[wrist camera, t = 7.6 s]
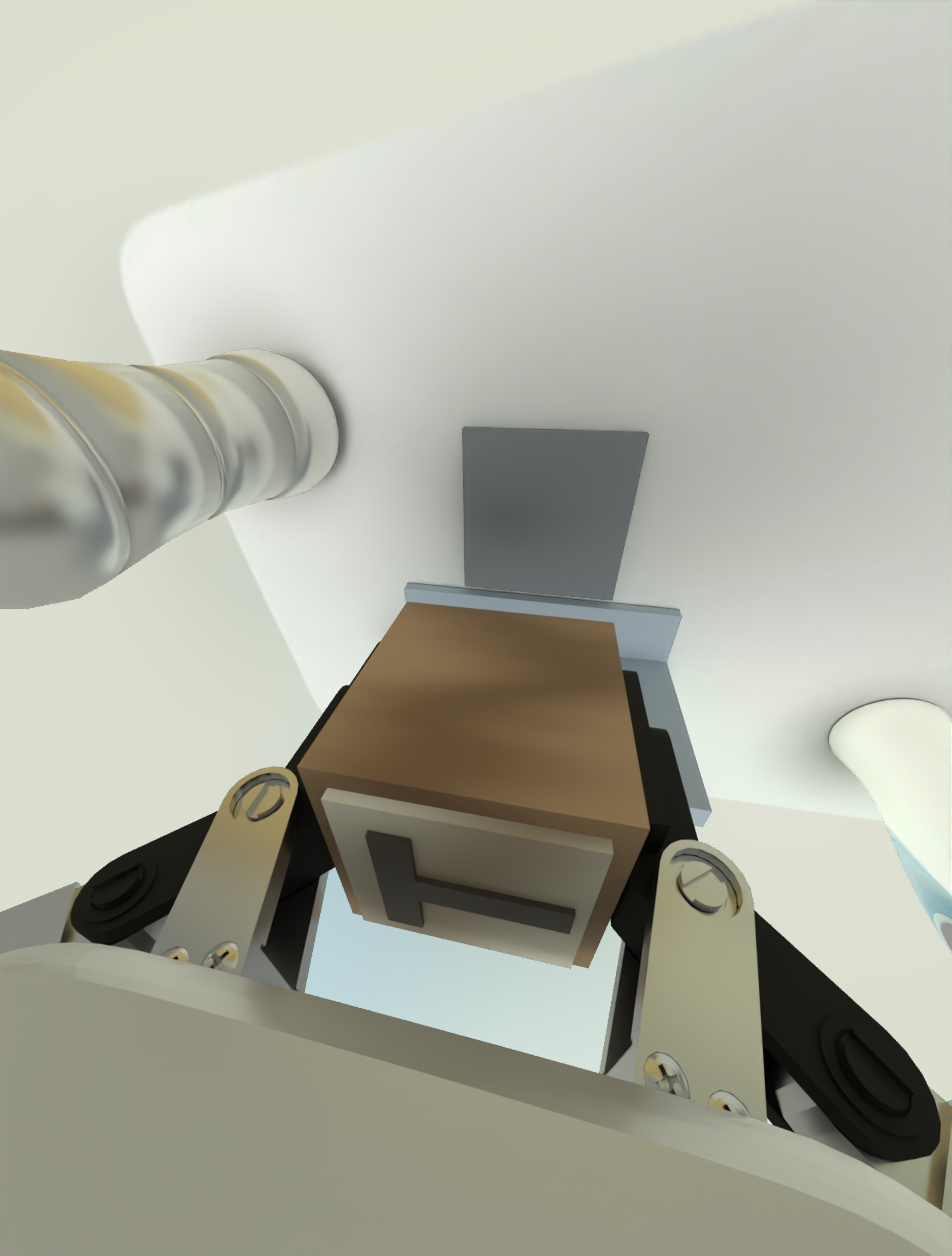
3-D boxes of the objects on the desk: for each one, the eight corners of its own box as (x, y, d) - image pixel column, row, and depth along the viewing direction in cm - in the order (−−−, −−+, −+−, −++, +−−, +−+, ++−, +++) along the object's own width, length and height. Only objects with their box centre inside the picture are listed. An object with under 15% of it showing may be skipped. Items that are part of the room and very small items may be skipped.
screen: (679, 609, 24) (741, 759, 15) (659, 669, 26) (702, 827, 18) (408, 582, 27) (325, 695, 18) (414, 639, 29) (344, 762, 20)
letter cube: (613, 622, 9) (654, 852, 5) (581, 761, 12) (589, 987, 8) (407, 601, 10) (285, 783, 6) (421, 737, 13) (346, 929, 8)
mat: (647, 432, 19) (649, 434, 19) (611, 595, 24) (612, 600, 24) (465, 426, 21) (462, 428, 20) (466, 581, 26) (464, 586, 25)
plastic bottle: (240, 452, 24) (-459, 648, 8) (249, 322, 20) (-1124, 169, 4) (339, 503, 25) (-122, 786, 8) (366, 386, 21) (-404, 488, 4)
